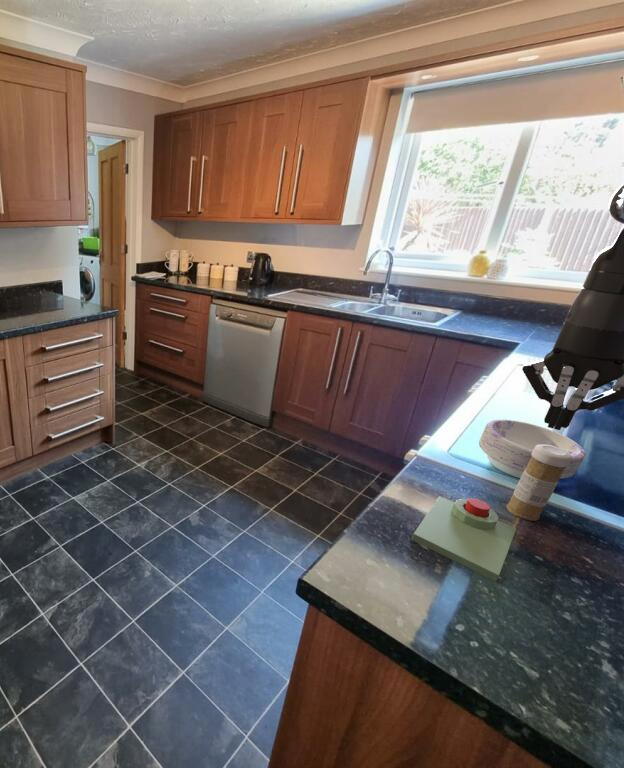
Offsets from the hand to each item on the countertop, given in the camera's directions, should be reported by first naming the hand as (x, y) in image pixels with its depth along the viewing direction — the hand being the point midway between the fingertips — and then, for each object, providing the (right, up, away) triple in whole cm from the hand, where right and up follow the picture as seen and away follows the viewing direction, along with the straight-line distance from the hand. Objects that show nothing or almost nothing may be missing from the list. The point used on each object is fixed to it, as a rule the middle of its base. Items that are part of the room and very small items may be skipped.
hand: (553, 427), depth 68 cm
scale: (-12, -19, +3) cm, 23 cm away
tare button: (-8, -15, +5) cm, 18 cm away
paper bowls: (+15, -11, +22) cm, 29 cm away
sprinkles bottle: (+3, -17, +9) cm, 19 cm away
